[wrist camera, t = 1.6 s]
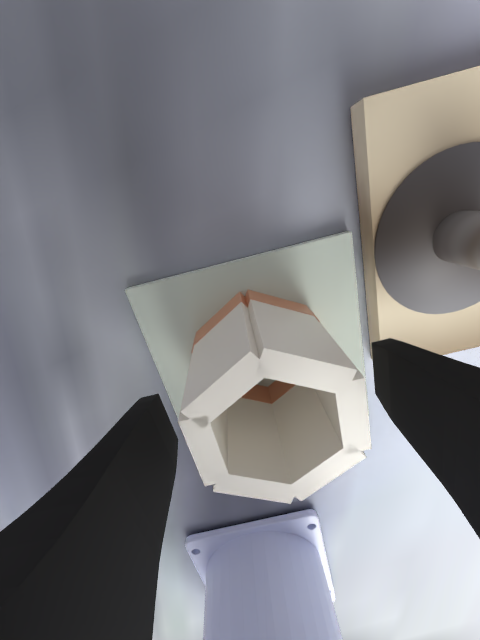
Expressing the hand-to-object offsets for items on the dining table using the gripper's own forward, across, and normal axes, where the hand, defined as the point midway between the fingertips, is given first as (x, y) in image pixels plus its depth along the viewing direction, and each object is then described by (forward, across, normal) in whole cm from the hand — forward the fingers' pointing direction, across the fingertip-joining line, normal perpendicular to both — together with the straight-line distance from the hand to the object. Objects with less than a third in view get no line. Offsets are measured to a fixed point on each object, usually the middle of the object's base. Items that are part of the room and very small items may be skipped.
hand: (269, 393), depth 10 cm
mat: (+4, 0, +1) cm, 4 cm away
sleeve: (+3, 0, 0) cm, 3 cm away
